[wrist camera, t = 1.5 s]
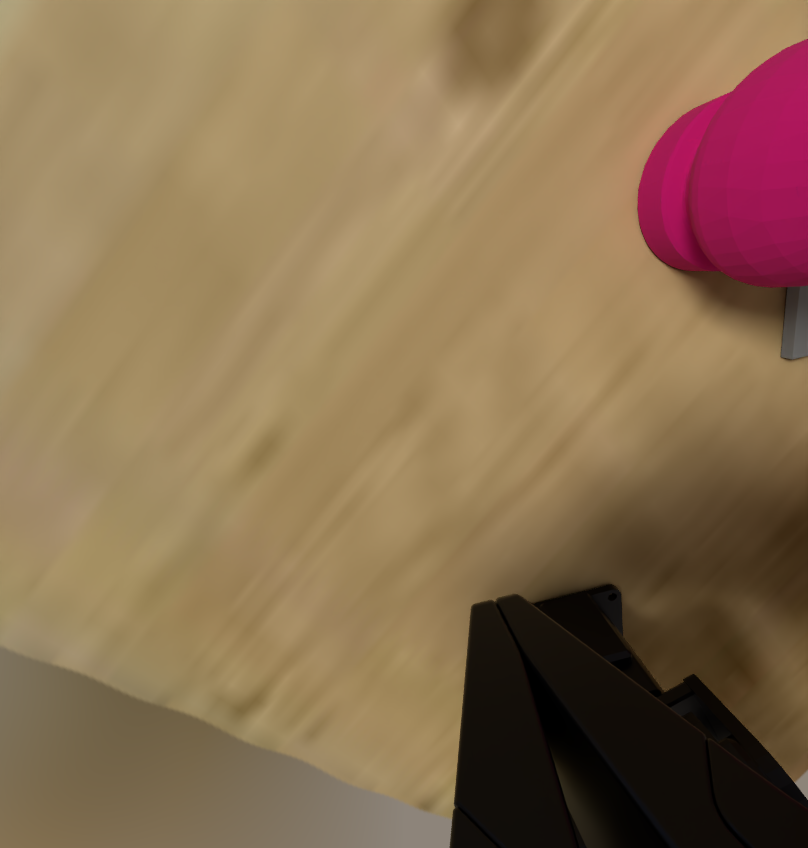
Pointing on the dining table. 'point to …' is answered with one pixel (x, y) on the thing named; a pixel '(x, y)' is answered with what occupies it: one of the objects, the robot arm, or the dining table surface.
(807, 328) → the mat
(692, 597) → the dining table surface
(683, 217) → the pepper mill
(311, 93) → the dining table surface
